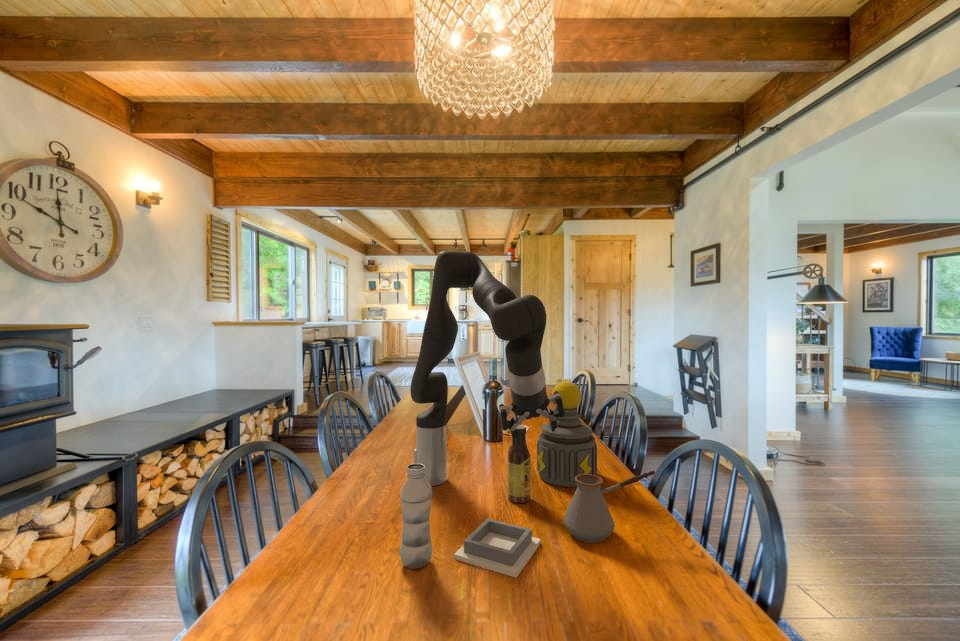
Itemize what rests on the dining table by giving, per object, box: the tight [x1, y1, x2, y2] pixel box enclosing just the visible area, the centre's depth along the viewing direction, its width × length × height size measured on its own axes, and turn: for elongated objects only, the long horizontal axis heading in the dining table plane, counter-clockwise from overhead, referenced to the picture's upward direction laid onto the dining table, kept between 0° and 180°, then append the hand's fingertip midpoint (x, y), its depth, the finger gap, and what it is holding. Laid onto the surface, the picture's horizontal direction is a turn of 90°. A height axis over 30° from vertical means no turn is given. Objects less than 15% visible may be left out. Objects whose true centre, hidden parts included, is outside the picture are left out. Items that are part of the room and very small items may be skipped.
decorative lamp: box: [536, 380, 598, 488], centre depth 134 cm, size 19×19×30 cm
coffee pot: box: [563, 470, 659, 544], centre depth 98 cm, size 21×12×15 cm, turn 87°
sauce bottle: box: [507, 425, 531, 504], centre depth 118 cm, size 7×6×20 cm
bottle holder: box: [453, 518, 542, 579], centre depth 92 cm, size 14×14×4 cm
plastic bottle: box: [399, 463, 434, 570], centre depth 87 cm, size 6×7×20 cm
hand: (534, 433), depth 99 cm, fingers open, 8 cm apart
